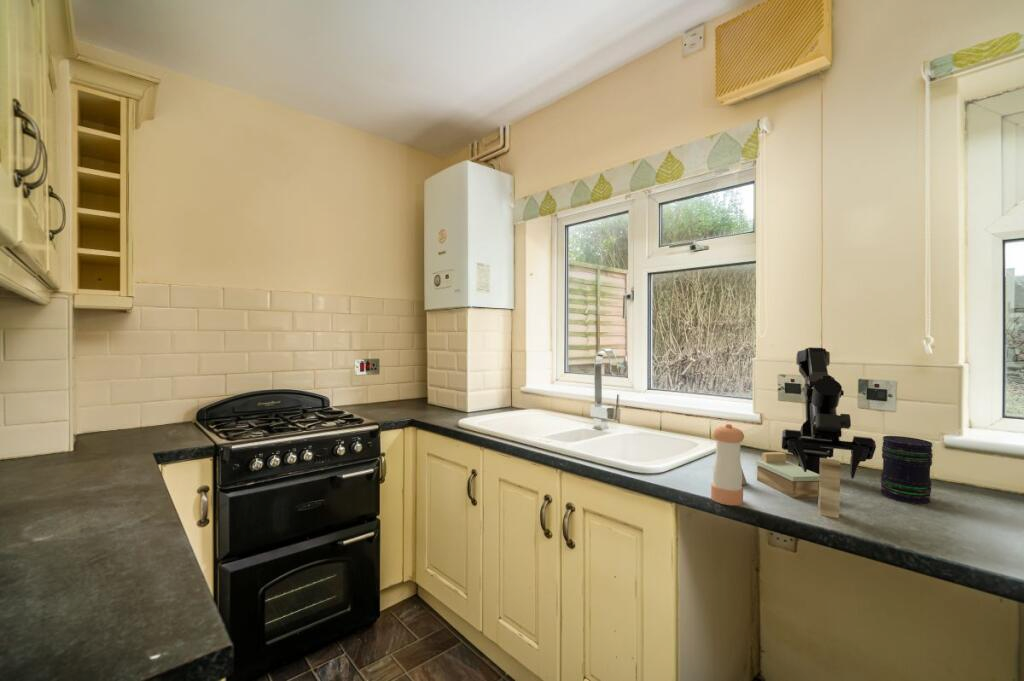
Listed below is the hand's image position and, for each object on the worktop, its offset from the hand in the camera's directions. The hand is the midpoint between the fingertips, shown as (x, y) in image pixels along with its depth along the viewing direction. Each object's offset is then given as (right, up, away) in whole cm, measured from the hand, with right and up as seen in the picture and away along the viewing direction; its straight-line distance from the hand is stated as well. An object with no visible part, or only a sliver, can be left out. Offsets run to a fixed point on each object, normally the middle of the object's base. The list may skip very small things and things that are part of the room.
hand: (828, 474), depth 107 cm
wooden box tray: (0, -9, +16) cm, 18 cm away
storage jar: (+27, -9, +10) cm, 30 cm away
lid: (0, -4, +16) cm, 17 cm away
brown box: (-1, -9, -1) cm, 9 cm away
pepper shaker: (-21, -9, +7) cm, 24 cm away
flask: (-12, -9, +21) cm, 26 cm away
